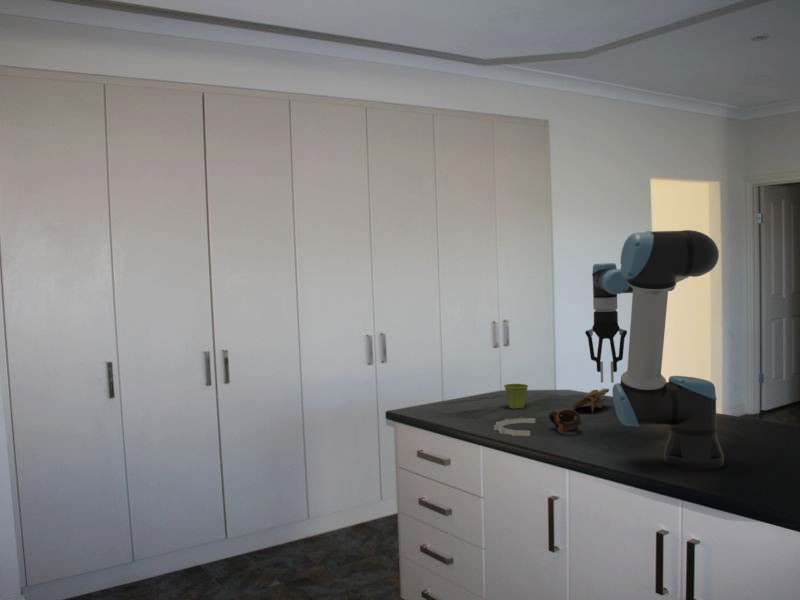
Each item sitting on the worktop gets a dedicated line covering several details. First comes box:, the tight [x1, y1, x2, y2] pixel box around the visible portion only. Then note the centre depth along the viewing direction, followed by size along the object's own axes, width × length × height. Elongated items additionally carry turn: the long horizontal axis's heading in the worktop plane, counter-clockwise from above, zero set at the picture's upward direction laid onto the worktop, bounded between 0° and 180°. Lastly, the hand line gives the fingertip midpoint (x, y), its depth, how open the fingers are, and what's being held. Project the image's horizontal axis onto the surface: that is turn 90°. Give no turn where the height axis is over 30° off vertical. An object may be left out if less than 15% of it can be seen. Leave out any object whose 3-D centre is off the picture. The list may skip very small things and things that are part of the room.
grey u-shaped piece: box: [493, 417, 536, 437], centre depth 231 cm, size 21×13×2 cm, turn 163°
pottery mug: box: [548, 408, 583, 435], centre depth 224 cm, size 12×9×8 cm
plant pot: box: [503, 383, 529, 410], centre depth 264 cm, size 9×9×9 cm
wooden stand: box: [570, 387, 610, 414], centre depth 253 cm, size 18×14×8 cm
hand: (607, 381), depth 221 cm, fingers open, 3 cm apart
